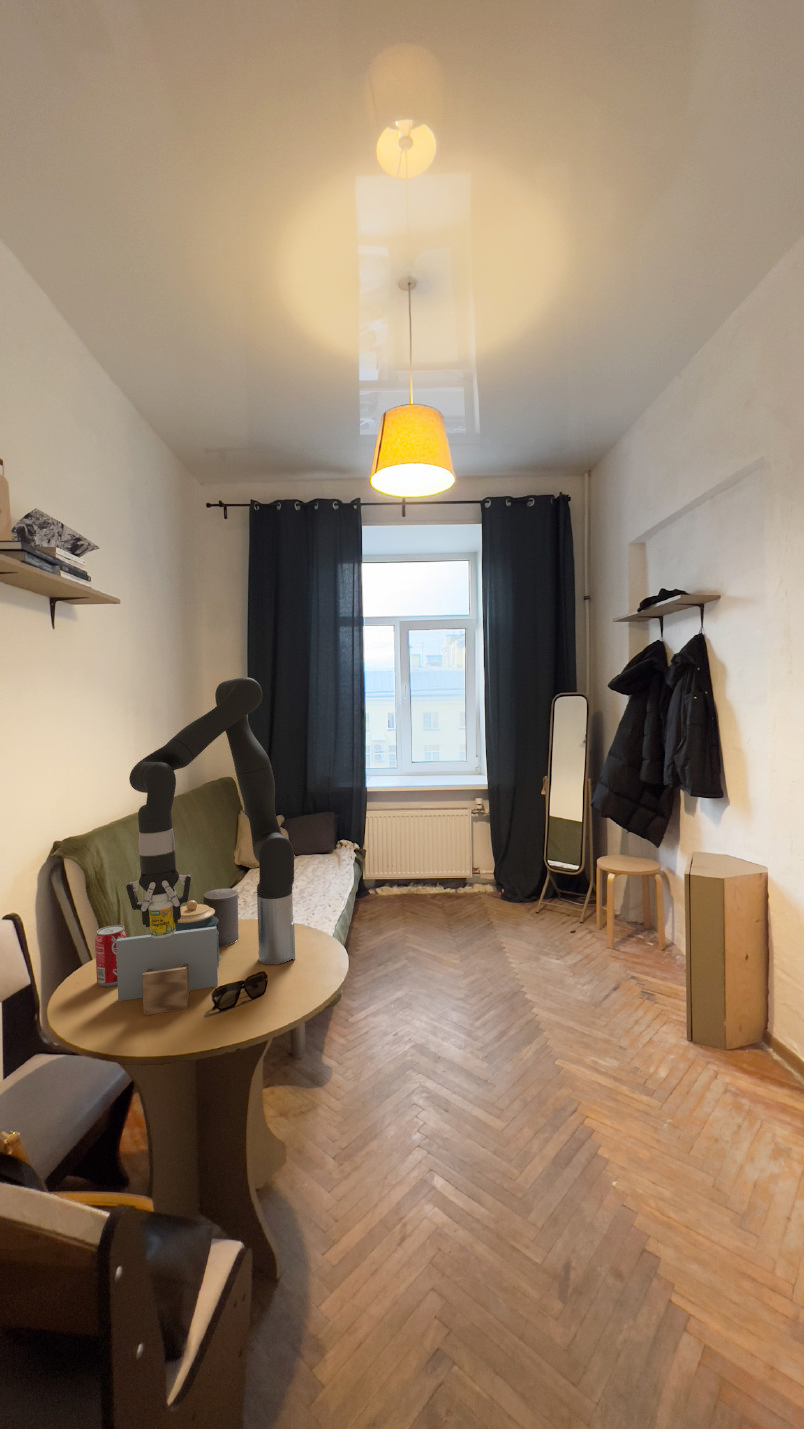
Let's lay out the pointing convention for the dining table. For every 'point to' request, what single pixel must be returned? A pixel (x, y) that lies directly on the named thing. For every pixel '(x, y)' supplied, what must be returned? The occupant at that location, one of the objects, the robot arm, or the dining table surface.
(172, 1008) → the cleat pocket
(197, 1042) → the dining table surface
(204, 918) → the canister
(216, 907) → the pillar candle
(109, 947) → the soda can
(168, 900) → the supplement bottle
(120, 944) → the wall board
